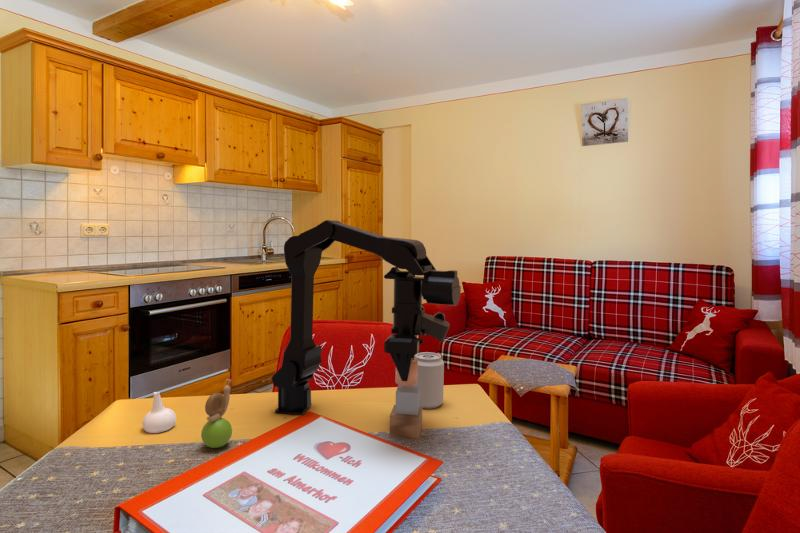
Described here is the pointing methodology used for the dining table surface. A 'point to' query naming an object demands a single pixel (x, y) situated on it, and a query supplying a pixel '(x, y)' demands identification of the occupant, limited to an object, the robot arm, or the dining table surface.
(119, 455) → the dining table surface
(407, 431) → the walnut base block
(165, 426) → the garlic bulb
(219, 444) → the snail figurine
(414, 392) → the slate cube
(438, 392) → the can
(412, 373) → the terracotta cylinder
